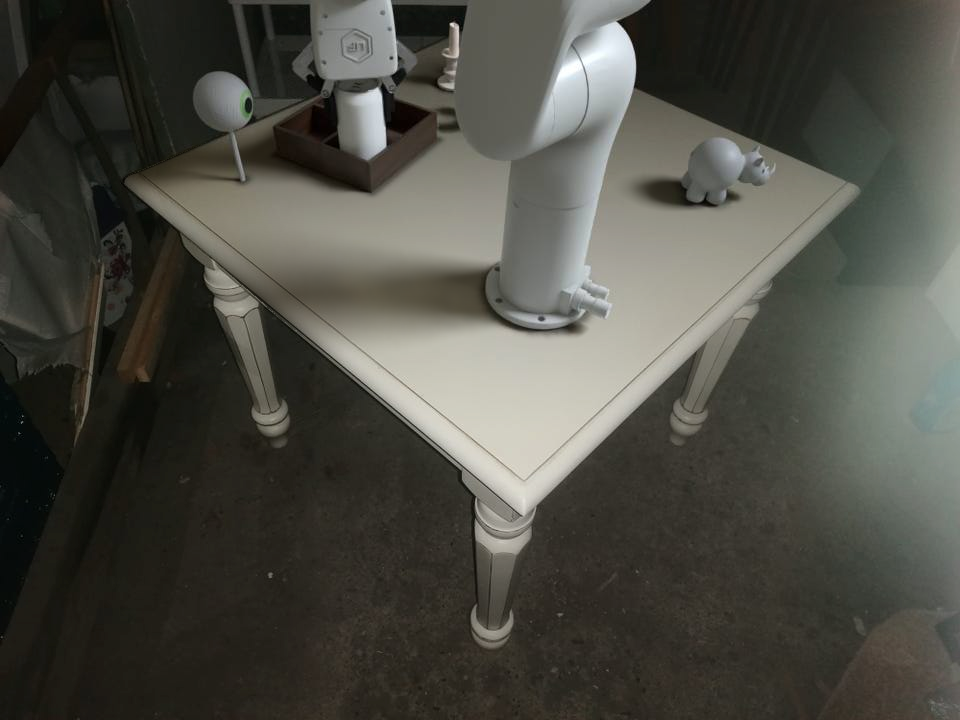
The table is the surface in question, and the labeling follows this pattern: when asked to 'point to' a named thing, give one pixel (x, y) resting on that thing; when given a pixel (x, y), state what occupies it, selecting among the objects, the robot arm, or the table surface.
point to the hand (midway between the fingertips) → (360, 117)
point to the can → (360, 117)
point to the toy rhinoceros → (722, 170)
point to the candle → (450, 59)
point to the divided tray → (319, 149)
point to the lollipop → (224, 106)
